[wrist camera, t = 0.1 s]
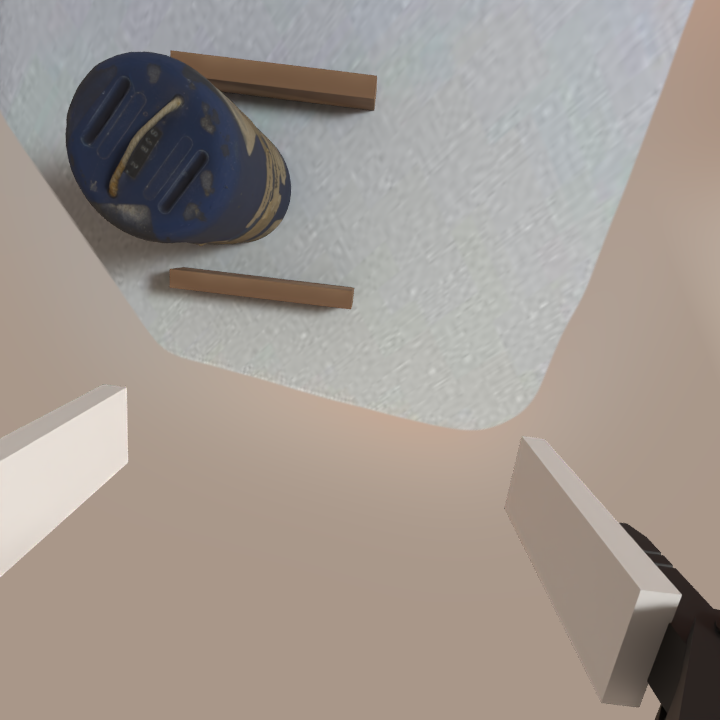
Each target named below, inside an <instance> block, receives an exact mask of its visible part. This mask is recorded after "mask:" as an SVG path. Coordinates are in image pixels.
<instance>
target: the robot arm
mask: <svg viewBox="0 0 720 720" xmlns="http://www.w3.org/2000/svg"><path fill="white" fill-rule="evenodd" d="M127 433H128V431H127V388H126V387H121V386H112V385H105V384H103V385H101V386H99V387H97V388H96V389H93V390H92V391H90V392H88V393H86V394H84V395H82V396H80V397H78V398H76V399H75V400H73V401H71V402H69V403H67V404H65V405H63V406H61V407H59V408H58V409H55V410H54V411H52V412H50V413H48V414H46V415H44V416H42V417H40V418H38V419H36V420H35V421H33V422H31V423H29V424H27V425H25V426H23V427H21V428H19V429H17V430H15V431H14V432H12V433H10V434H8V435H6V436H4V437H2V438H0V577H1V576H2V575H3V574H4V573H5V572H6V571H7V570H9V569H10V568H11V567H12V566H13V565H14V564H15V563H16V562H18V561H19V560H20V559H21V558H22V557H23V556H24V555H25V554H26V553H28V552H29V551H30V550H31V549H32V548H33V547H34V546H35V545H37V544H38V543H39V542H40V541H41V540H42V539H43V538H44V537H45V536H47V535H48V534H49V533H50V532H51V531H52V530H53V529H54V528H55V527H57V526H58V525H59V524H60V523H61V522H62V521H63V520H64V519H65V518H67V517H68V516H69V515H70V514H71V513H72V512H73V511H74V510H76V509H77V508H78V507H79V506H80V505H81V504H82V503H83V502H84V501H85V500H87V499H88V498H89V497H90V496H91V495H92V494H93V493H94V492H96V491H97V490H98V489H99V488H100V487H101V486H102V485H103V484H104V483H106V482H107V481H108V480H109V479H110V478H111V477H112V476H113V475H115V474H116V473H117V472H118V471H119V470H120V469H121V468H122V467H123V466H124V465H126V464H127V463H128V434H127ZM504 509H505V510H506V512H507V515H508V517H509V519H510V521H511V523H512V525H513V527H514V528H515V531H516V533H517V535H518V537H519V539H520V541H521V543H522V545H523V546H524V549H525V551H526V553H527V555H528V556H529V559H530V561H531V563H532V565H533V567H534V569H535V571H536V573H537V575H538V577H539V579H540V581H541V583H542V585H543V587H544V589H545V591H546V593H547V595H548V597H549V599H550V601H551V603H552V605H553V607H554V609H555V611H556V613H557V615H558V617H559V619H560V621H561V623H562V625H563V627H564V629H565V631H566V633H567V635H568V637H569V639H570V641H571V643H572V645H573V647H574V649H575V651H576V653H577V655H578V657H579V659H580V661H581V663H582V665H583V667H584V669H585V671H586V673H587V675H588V677H589V679H590V681H591V683H592V685H593V687H594V689H595V691H596V693H597V695H598V697H599V699H600V701H601V703H606V704H614V705H623V706H631V707H640V704H641V701H642V699H643V696H644V693H645V691H646V688H647V685H648V684H649V685H650V687H651V688H652V690H653V692H654V693H655V695H656V696H657V698H658V699H659V701H660V703H661V705H660V708H659V710H658V713H657V715H656V718H655V720H720V610H717V609H713V608H712V607H711V606H710V605H709V604H708V603H707V601H706V600H705V599H704V598H703V597H702V596H701V595H700V594H699V593H698V592H697V591H696V590H695V589H694V588H693V586H692V585H690V583H689V582H688V581H687V580H686V579H685V578H684V577H683V576H682V575H681V574H680V573H679V571H678V570H677V569H676V568H673V565H672V564H671V563H670V562H669V561H668V560H667V559H666V558H665V556H663V555H661V552H660V551H659V550H658V549H657V548H656V547H655V546H654V545H653V544H652V542H651V541H649V539H648V538H647V537H645V536H644V535H642V534H641V533H640V532H638V531H637V530H635V529H634V528H632V527H631V526H630V525H628V524H626V523H618V522H617V521H616V519H615V518H614V517H613V516H612V515H611V514H610V513H609V511H608V510H607V509H606V508H605V507H604V506H603V505H602V503H601V502H600V501H599V500H598V499H597V498H596V497H595V496H594V494H593V493H592V492H591V491H590V490H589V489H588V487H587V486H586V485H585V484H584V483H583V482H582V481H581V480H580V478H579V477H578V476H577V475H576V474H575V473H574V472H573V470H572V469H571V468H570V467H569V466H568V465H567V464H566V463H565V461H564V460H563V459H562V458H561V457H560V456H559V455H558V453H557V452H556V451H555V450H554V449H553V448H552V447H551V445H550V444H549V443H548V442H547V441H546V440H545V439H543V438H534V437H527V436H521V441H520V445H519V449H518V453H517V458H516V462H515V466H514V470H513V474H512V479H511V483H510V487H509V492H508V495H507V500H506V504H505V508H504Z"/></svg>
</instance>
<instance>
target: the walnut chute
mask: <svg viewBox="0 0 720 720" xmlns="http://www.w3.org/2000/svg"><path fill="white" fill-rule="evenodd" d="M171 57H172V58H175V59H177V60H179V61H181V62H183V63H185V64H187V65H189V66H190V67H192V68H193V69H195V70H196V71H198V72H199V73H200V74H201V75H203V76H204V77H205V78H206V79H207V80H209V81H210V82H211V83H212V84H213V85H214V86H215V87H216V88H217V89H218V90H220V91H221V92H229V93H237V94H245V95H253V96H261V97H269V98H277V99H286V100H294V101H302V102H310V103H318V104H326V105H335V106H343V107H351V108H359V109H367V110H374V108H375V99H376V90H377V76H374V75H366V74H358V73H350V72H342V71H333V70H325V69H317V68H309V67H301V66H293V65H285V64H276V63H268V62H260V61H252V60H244V59H236V58H228V57H220V56H211V55H203V54H195V53H187V52H179V51H171ZM170 288H178V289H186V290H194V291H203V292H211V293H219V294H228V295H236V296H244V297H253V298H261V299H269V300H278V301H286V302H294V303H303V304H311V305H319V306H328V307H336V308H344V309H351V307H352V303H353V294H354V288H352V287H344V286H335V285H327V284H319V283H310V282H302V281H294V280H286V279H277V278H269V277H261V276H252V275H244V274H236V273H227V272H219V271H211V270H202V269H194V268H186V267H182V268H174V269H170Z"/></svg>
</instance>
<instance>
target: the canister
mask: <svg viewBox="0 0 720 720" xmlns="http://www.w3.org/2000/svg"><path fill="white" fill-rule="evenodd" d="M66 148H67V154H68V159H69V163H70V166H71V170H72V172H73V175H74V177H75V179H76V181H77V183H78V185H79V187H80V189H81V190H82V192H83V194H84V195H85V197H86V198H87V200H88V201H89V202H90V204H91V205H92V206H93V207H94V208H95V209H96V210H97V212H99V213H100V214H101V215H102V216H103V217H104V218H105V219H106V220H107V221H109V222H110V223H111V224H113V225H114V226H116V227H117V228H119V229H120V230H122V231H124V232H126V233H128V234H130V235H132V236H135V237H138V238H141V239H144V240H148V241H153V242H160V243H176V242H187V243H194V244H198V245H199V246H202V245H204V244H236V243H243V242H252V241H256V240H259V239H261V238H263V237H265V236H267V235H268V234H269V233H271V232H272V231H273V230H274V229H275V228H276V227H277V226H278V225H279V224H280V222H281V221H282V220H283V218H284V216H285V214H286V211H287V209H288V206H289V202H290V196H291V182H290V176H289V172H288V168H287V166H286V163H285V161H284V159H283V157H282V155H281V154H280V152H279V151H278V149H277V148H276V147H275V145H274V144H273V143H272V142H271V141H270V140H269V139H268V138H267V137H266V136H265V135H264V134H263V133H262V132H261V131H260V130H259V129H258V128H256V126H255V125H254V124H253V122H252V121H251V120H250V119H249V118H248V117H247V116H246V115H245V114H244V113H243V112H242V111H241V110H239V109H238V108H237V106H236V105H235V104H234V103H232V102H231V101H230V100H229V99H228V98H227V97H226V96H225V95H224V94H223V93H222V92H221V91H220V90H218V89H217V88H216V87H215V86H214V85H213V84H212V83H211V82H210V81H209V80H207V79H206V78H205V77H204V76H203V75H201V74H200V73H199V72H198V71H196V70H195V69H193V68H192V67H190V66H189V65H187V64H185V63H183V62H181V61H179V60H177V59H175V58H172V57H169V56H166V55H162V54H158V53H152V52H129V53H124V54H120V55H116V56H114V57H112V58H109V59H107V60H105V61H103V62H101V63H99V64H98V65H96V66H95V67H94V68H93V69H92V70H91V71H90V72H89V73H88V74H87V76H86V77H85V78H84V79H83V81H82V82H81V84H80V85H79V86H78V88H77V90H76V92H75V94H74V97H73V99H72V102H71V104H70V107H69V110H68V113H67V127H66Z"/></svg>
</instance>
